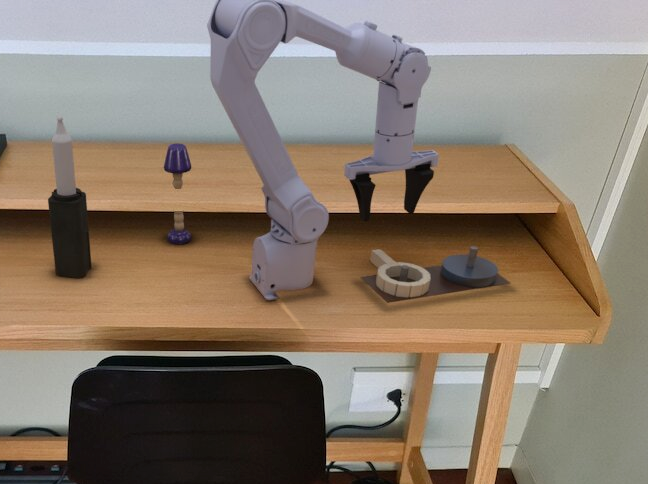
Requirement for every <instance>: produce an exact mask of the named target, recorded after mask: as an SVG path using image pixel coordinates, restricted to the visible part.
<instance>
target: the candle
mask: <svg viewBox="0 0 648 484" xmlns="http://www.w3.org/2000/svg"><path fill="white" fill-rule="evenodd" d="M56 120H57V124H56V127H55V133H54V134H53V136H52V139H51V145H52V156H53V165H54V175H55V185H56V188H55V189H53V191H51V195H50V197H48V198H47V203H48V204H47V205H48V211H49V212H48V214H49V221H50V222H49V223H50V224H49V225H50V234H51V243H52V250H53V251H52V252H53V261H54V270H55V271H54V272H55V275H56V276H57V277H63V278H71V279H72V278H73V279H83V278H84V277H86V276H87V273H88V272H89V270H90V269H92V257H91V256H92V254H91V244H90V243H91V242H90V230H89V228H90V227H89V217H88V215H89V214H88V203H87V193H86V192H85V191H82V189H80V188H79V187H77V185H76V175H75V174H76V173H75V162H74V151H73V139H72V137H71V136H70V134H69V133H68V132H67V129H66V127H65V125H64V122H63V120H64V118H63V116H61V115H58V116H57V117H56Z"/></svg>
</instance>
